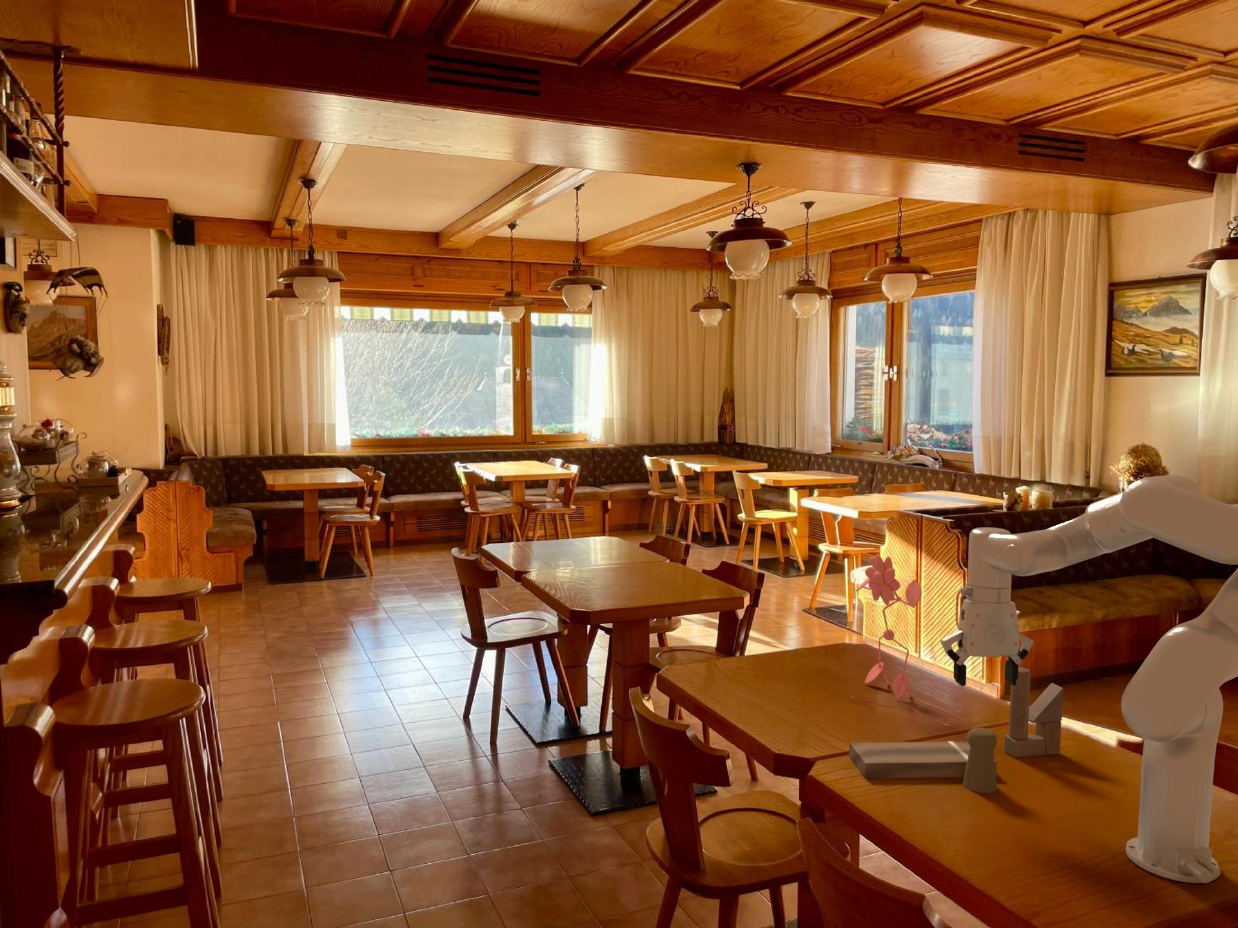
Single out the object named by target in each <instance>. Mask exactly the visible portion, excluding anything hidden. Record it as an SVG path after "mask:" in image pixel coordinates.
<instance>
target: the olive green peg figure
mask: <svg viewBox="0 0 1238 928" xmlns="http://www.w3.org/2000/svg"><path fill="white" fill-rule="evenodd" d="M966 738H967V739H966V740H967V742H968V743H969V745H970V749H969V754H968V759H967V765H966V770H965V775H964V777H963V781H962V784H963V786H964V787H965V789H968V790H969V791H972V792H975V793H979V794H993V793H995V792H997V791H998V787H997V785H998V784H997V771H996V772H995V762H994V760H995V754H994V753H995V751H994V750H995V748H996V747H997V744H998V739H997V735H996V734H995V732H994V731H992V730H990V729H987V728H984V727H974V728H971V729H970V730H968V732H967V737H966Z"/></svg>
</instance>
